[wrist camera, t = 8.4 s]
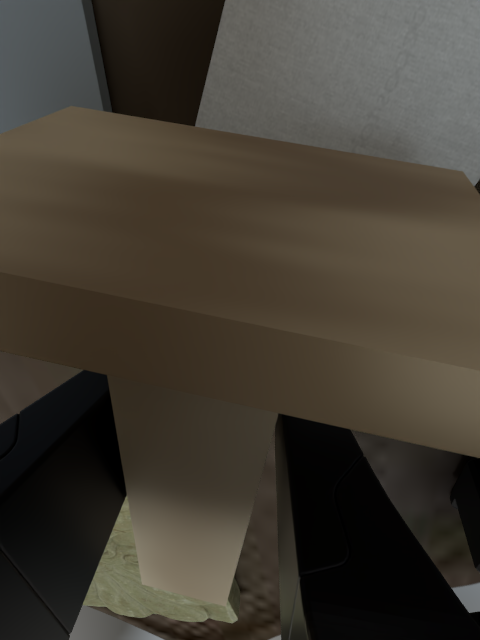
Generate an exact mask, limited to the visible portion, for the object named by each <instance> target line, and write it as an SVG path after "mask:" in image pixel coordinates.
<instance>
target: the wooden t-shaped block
mask: <svg viewBox="0 0 480 640" xmlns="http://www.w3.org/2000/svg"><path fill="white" fill-rule="evenodd" d="M0 351H2V352H6V353H11V354H15V355H20V356H24V357H29V358H33V359H38V360H42V361H47V362H51V363H56V364H60V365H65V366H69V367H74V368H78V369H83V370H87V371H92V372H96V373H100V374H105V375H107V378H108V384H109V390H110V396H111V402H112V408H113V414H114V420H115V426H116V432H117V438H118V444H119V450H120V456H121V462H122V468H123V474H124V480H125V486H126V492H127V498H128V504H129V510H130V515H131V521H132V527H133V533H134V539H135V545H136V551H137V557H138V563H139V569H140V575H141V581H142V584H143V585H146V586H150V587H154V588H158V589H161V590H165V591H169V592H173V593H176V594H180V595H184V596H188V597H191V598H195V599H199V600H203V601H207V602H210V603H214V604H218V605H222V606H225V607H226V603H227V600H228V596H229V593H230V589H231V585H232V582H233V578H234V574H235V571H236V567H237V563H238V560H239V556H240V552H241V549H242V545H243V541H244V538H245V534H246V531H247V527H248V523H249V520H250V516H251V512H252V509H253V505H254V501H255V498H256V494H257V490H258V487H259V483H260V479H261V476H262V472H263V469H264V465H265V461H266V458H267V454H268V450H269V447H270V443H271V439H272V436H273V432H274V428H275V425H276V421H277V417H278V414H279V413H280V414H284V415H289V416H293V417H297V418H302V419H306V420H311V421H315V422H320V423H324V424H329V425H333V426H338V427H342V428H347V429H351V430H356V431H360V432H365V433H369V434H374V435H378V436H383V437H387V438H391V439H396V440H400V441H405V442H409V443H414V444H418V445H423V446H427V447H432V448H436V449H441V450H445V451H450V452H454V453H459V454H463V455H468V456H472V457H477V458H480V194H479V193H478V191H477V190H476V189H475V187H474V186H473V185H472V183H471V182H470V180H469V179H468V178H467V176H466V175H465V174H464V172H463V171H458V170H452V169H446V168H440V167H434V166H428V165H422V164H416V163H410V162H404V161H398V160H392V159H386V158H380V157H374V156H368V155H362V154H356V153H350V152H344V151H338V150H332V149H326V148H320V147H314V146H308V145H302V144H296V143H290V142H284V141H278V140H272V139H266V138H260V137H254V136H248V135H242V134H236V133H231V132H225V131H219V130H213V129H207V128H201V127H195V126H189V125H183V124H177V123H171V122H165V121H159V120H153V119H147V118H141V117H135V116H129V115H123V114H117V113H111V112H105V111H99V110H93V109H87V108H81V107H75V106H70V107H67V108H65V109H62V110H59V111H57V112H54V113H52V114H49V115H47V116H44V117H42V118H39V119H37V120H34V121H32V122H29V123H27V124H24V125H22V126H19V127H17V128H14V129H12V130H9V131H6V132H4V133H1V134H0Z"/></svg>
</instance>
